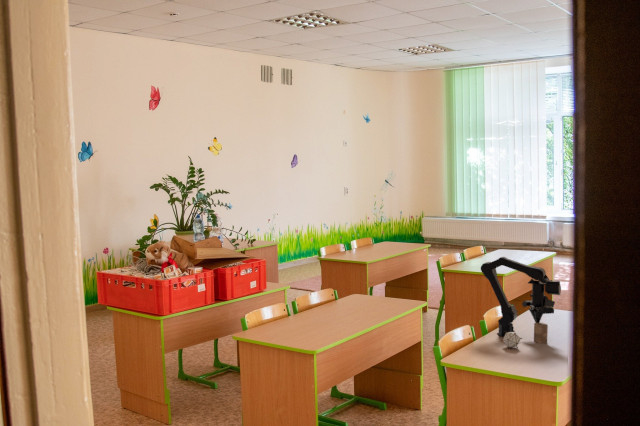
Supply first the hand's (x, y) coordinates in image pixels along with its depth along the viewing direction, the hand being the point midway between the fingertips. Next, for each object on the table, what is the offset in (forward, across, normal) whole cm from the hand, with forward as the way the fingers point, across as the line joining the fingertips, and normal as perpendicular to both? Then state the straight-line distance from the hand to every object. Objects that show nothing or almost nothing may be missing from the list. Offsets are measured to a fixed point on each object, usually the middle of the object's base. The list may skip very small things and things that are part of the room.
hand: (537, 324), depth 293 cm
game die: (+8, -10, +20) cm, 24 cm away
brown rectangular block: (+8, -3, 0) cm, 9 cm away
